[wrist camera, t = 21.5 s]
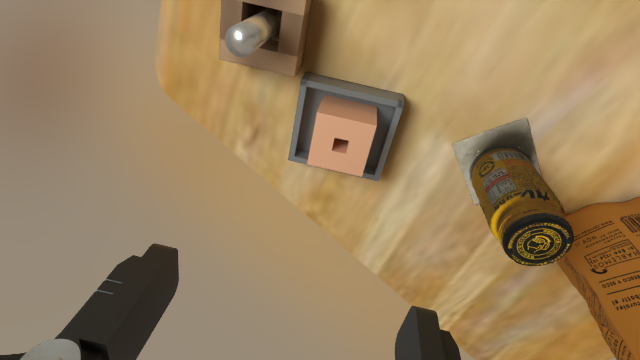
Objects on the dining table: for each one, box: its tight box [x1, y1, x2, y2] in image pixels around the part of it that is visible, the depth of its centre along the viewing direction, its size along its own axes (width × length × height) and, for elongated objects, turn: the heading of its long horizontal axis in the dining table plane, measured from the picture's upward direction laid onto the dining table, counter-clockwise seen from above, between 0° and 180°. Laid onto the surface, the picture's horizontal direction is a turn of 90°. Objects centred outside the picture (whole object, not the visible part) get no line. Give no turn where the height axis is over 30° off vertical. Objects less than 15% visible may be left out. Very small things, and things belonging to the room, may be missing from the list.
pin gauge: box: [225, 8, 282, 57], centre depth 30 cm, size 2×2×10 cm
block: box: [307, 95, 377, 177], centre depth 36 cm, size 6×6×5 cm
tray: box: [288, 72, 405, 181], centre depth 38 cm, size 10×9×2 cm
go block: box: [219, 0, 312, 77], centre depth 33 cm, size 7×7×4 cm
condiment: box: [452, 118, 574, 266], centre depth 34 cm, size 7×8×12 cm
